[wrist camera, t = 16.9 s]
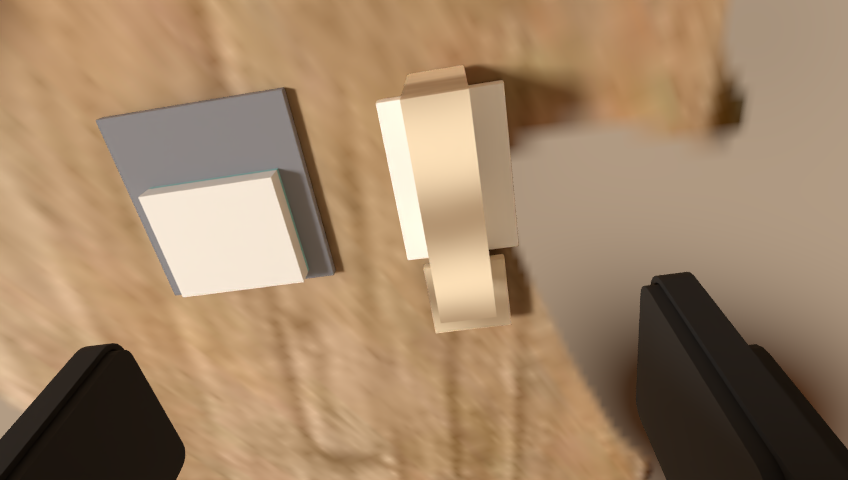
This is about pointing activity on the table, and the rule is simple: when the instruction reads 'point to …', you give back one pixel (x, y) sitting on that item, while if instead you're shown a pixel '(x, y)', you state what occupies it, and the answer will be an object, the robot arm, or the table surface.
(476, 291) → the beige piece
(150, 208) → the tile
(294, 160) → the mat
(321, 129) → the table surface
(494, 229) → the pad
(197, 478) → the table surface
